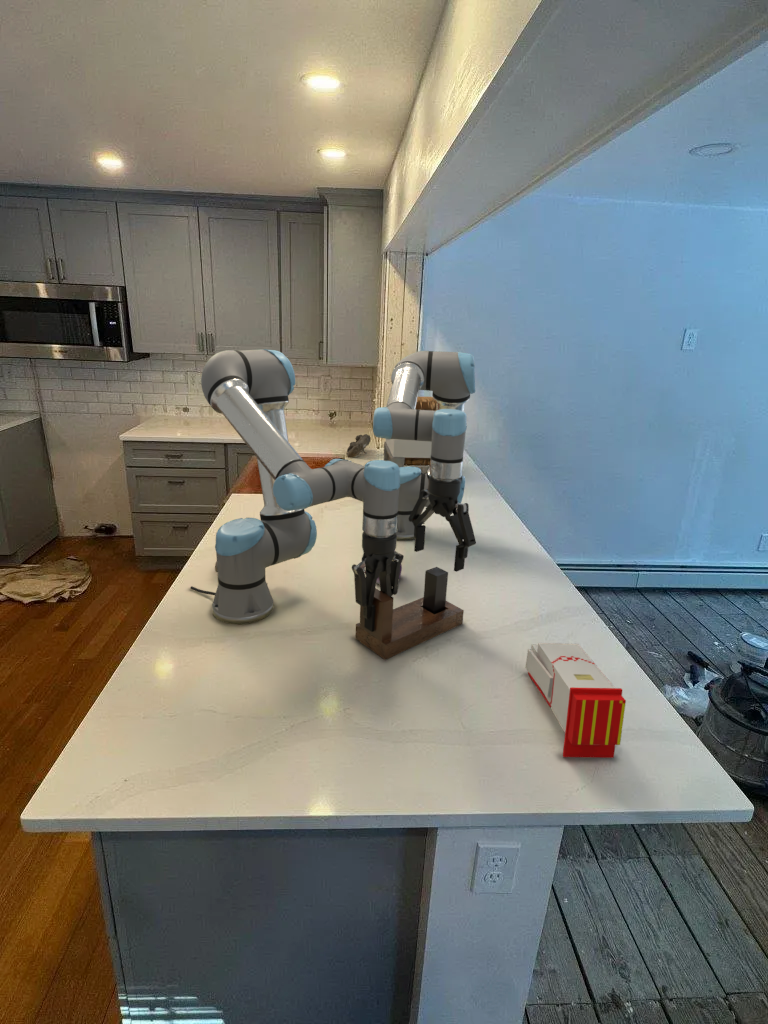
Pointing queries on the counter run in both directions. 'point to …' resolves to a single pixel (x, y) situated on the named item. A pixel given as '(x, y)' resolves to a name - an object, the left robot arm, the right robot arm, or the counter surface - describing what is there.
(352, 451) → the fossil
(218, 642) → the counter surface
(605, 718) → the toy
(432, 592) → the peg
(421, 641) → the peg board
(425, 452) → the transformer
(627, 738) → the counter surface
